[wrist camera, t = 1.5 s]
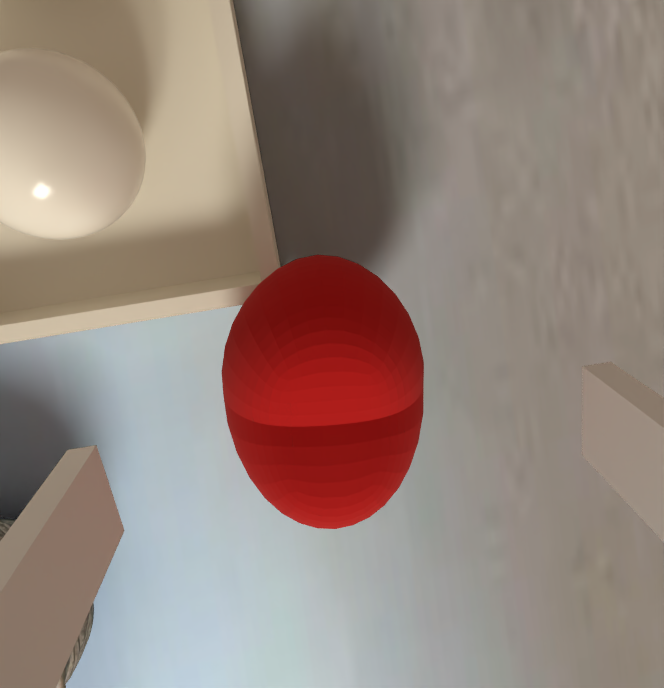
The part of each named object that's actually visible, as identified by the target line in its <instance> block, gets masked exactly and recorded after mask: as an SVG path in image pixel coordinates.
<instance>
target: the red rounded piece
mask: <svg viewBox="0 0 664 688" xmlns="http://www.w3.org/2000/svg"><path fill="white" fill-rule="evenodd" d="M423 377H424V362H423V357H422V352H421V347H420V342H419V338H418V335H417V333H416V330H415V328H414V325H413V323H412V321H411V318H410V316H409V314H408V312H407V311H406V309H405V308H404V306H403V305H402V303H401V302H400V300H399V299H398V297H397V296H396V294H395V293H394V292H393V291H392V290H391V289H390V288H389V287H388V286H387V285H386V284H385V283H384V282H383V281H382V280H381V279H380V278H379V277H378V276H376V275H375V274H373V273H372V272H370V271H369V270H367V269H365V268H364V267H362V266H361V265H359V264H357V263H354V262H352V261H349V260H346V259H343V258H341V257H337V256H325V255H314V256H309V257H304V258H299V259H296V260H294V261H292V262H290V263H288V264H286V265H284V266H282V267H280V268H278V269H276V270H275V271H274V272H273V273H272V274H270V275H269V276H268V277H267V278H265V279H264V280H263V281H262V282H261V283H259V285H258V286H257V287H256V288H255V289H254V291H253V292H252V293H251V294H250V295H249V297H248V298H247V299H246V300H245V302H244V304H243V305H242V307H241V309H240V311H239V313H238V315H237V316H236V318H235V320H234V322H233V324H232V327H231V330H230V333H229V336H228V339H227V342H226V345H225V351H224V359H223V366H222V382H223V394H224V402H225V409H226V415H227V422H228V426H229V429H230V432H231V435H232V438H233V442H234V445H235V448H236V451H237V453H238V455H239V457H240V459H241V461H242V463H243V465H244V467H245V469H246V471H247V473H248V475H249V477H250V479H251V480H252V481H253V483H254V484H255V485H256V487H257V488H258V489H259V491H260V492H261V493H262V495H263V496H264V497H265V498H266V499H267V500H268V501H269V502H270V503H271V504H272V505H273V506H274V507H276V508H277V509H278V510H279V511H280V512H281V513H283V514H284V515H286V516H288V517H290V518H292V519H293V520H295V521H297V522H299V523H301V524H305V525H308V526H312V527H315V528H326V529H337V528H342V527H346V526H351V525H354V524H356V523H358V522H360V521H362V520H365V519H367V518H369V517H370V516H371V515H373V514H374V513H375V512H377V511H378V510H379V509H380V508H382V507H383V506H384V505H385V504H386V503H387V501H388V500H389V499H390V498H391V497H392V495H393V494H394V493H395V492H396V491H397V489H398V488H399V486H400V485H401V483H402V481H403V479H404V477H405V475H406V473H407V471H408V469H409V467H410V465H411V462H412V459H413V456H414V453H415V450H416V447H417V444H418V440H419V434H420V428H421V423H422V417H423Z"/></svg>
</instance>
